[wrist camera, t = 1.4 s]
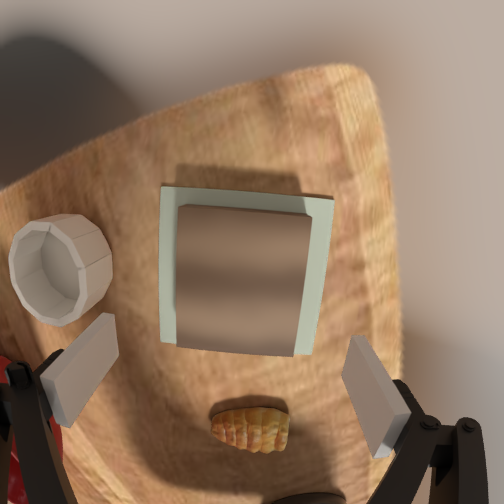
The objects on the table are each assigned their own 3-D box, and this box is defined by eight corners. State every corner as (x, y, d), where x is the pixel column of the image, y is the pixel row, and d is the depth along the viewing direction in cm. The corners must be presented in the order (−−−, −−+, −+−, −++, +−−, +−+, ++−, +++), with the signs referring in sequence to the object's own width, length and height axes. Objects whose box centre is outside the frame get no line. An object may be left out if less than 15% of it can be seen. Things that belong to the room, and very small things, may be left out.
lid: (290, 341, 31) (293, 356, 28) (183, 332, 31) (176, 346, 28) (306, 213, 28) (312, 217, 25) (186, 203, 28) (178, 206, 25)
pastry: (212, 436, 35) (209, 457, 31) (212, 400, 34) (208, 421, 30) (284, 440, 35) (286, 460, 31) (291, 404, 34) (294, 425, 30)
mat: (311, 353, 32) (311, 354, 31) (161, 340, 31) (160, 341, 31) (334, 199, 28) (334, 200, 28) (161, 186, 28) (160, 186, 28)
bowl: (116, 309, 31) (92, 334, 25) (46, 296, 31) (16, 315, 25) (113, 215, 28) (83, 224, 23) (39, 212, 28) (5, 219, 23)
